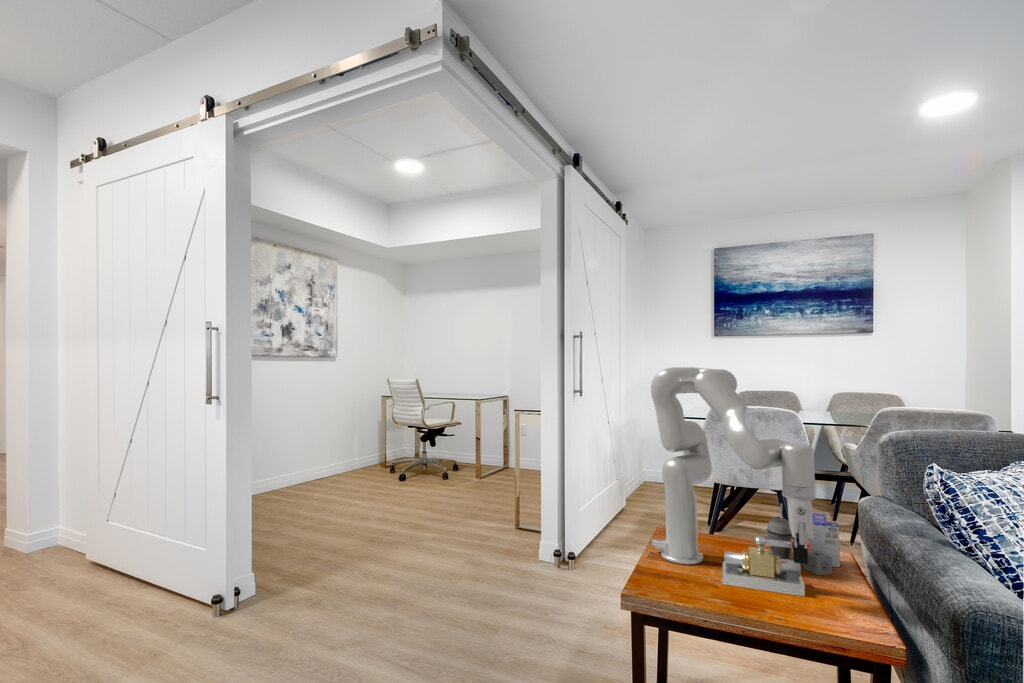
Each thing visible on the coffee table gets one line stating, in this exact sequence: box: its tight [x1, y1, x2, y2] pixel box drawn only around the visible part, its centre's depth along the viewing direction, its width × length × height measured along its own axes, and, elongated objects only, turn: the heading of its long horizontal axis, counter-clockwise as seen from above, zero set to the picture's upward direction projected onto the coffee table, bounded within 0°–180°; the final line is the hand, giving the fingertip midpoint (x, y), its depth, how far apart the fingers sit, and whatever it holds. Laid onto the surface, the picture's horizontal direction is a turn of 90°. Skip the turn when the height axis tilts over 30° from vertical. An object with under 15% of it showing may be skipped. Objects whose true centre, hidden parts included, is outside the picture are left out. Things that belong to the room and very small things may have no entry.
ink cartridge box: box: [807, 512, 841, 568], centre depth 159 cm, size 10×6×14 cm, turn 65°
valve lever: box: [754, 535, 811, 551], centre depth 142 cm, size 14×3×2 cm, turn 69°
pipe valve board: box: [722, 544, 806, 597], centre depth 144 cm, size 20×9×11 cm, turn 68°
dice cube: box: [803, 551, 833, 576], centre depth 152 cm, size 5×5×5 cm
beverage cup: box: [766, 503, 793, 560], centre depth 153 cm, size 7×7×20 cm
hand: (800, 562), depth 134 cm, fingers closed
